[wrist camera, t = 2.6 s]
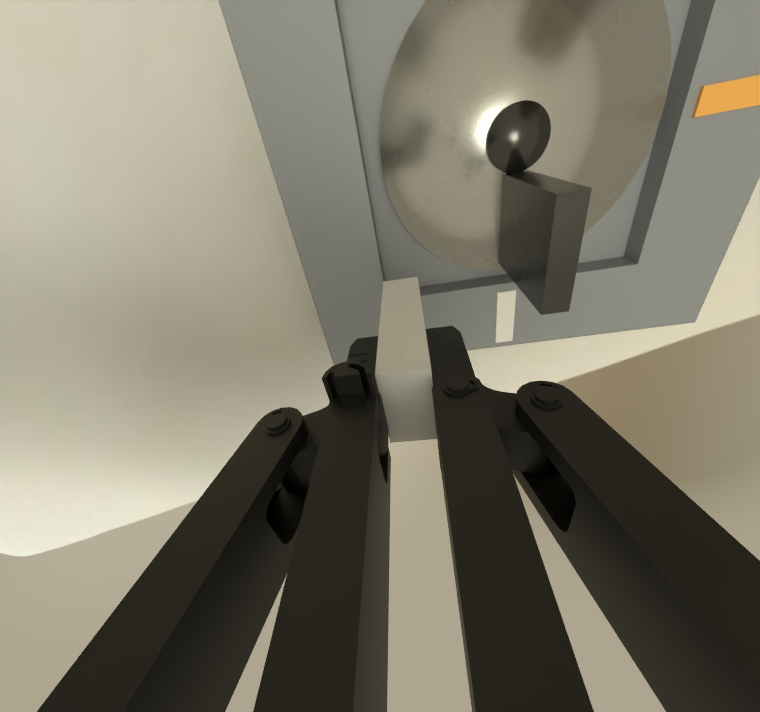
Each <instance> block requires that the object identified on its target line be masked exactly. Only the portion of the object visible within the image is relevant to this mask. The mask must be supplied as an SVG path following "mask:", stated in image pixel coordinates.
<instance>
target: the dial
mask: <svg viewBox="0 0 760 712" xmlns="http://www.w3.org/2000/svg"><path fill="white" fill-rule="evenodd" d="M670 67H671V36H670V29H669V23H668V17H667V11H666V8H665V5H664V2H663V0H426V2H425V3H424V4H423V5H422V7H421V9H420V10H419V12H418V14H417V15H416V17H415V18H414V20H413V22H412V23H411V25H410V27H409V28H408V30H407V32H406V35H405V37H404V39H403V41H402V43H401V45H400V47H399V49H398V52H397V54H396V57H395V60H394V63H393V65H392V68H391V71H390V74H389V77H388V81H387V86H386V90H385V94H384V98H383V104H382V112H381V120H380V155H381V165H382V170H383V175H384V180H385V184H386V187H387V190H388V193H389V196H390V199H391V202H392V204H393V206H394V208H395V210H396V212H397V214H398V216H399V218H400V219H401V221H402V222H403V224H404V226H405V227H406V229H407V230H408V231H409V232H410V233H411V235H412V236H413V237H414V238H415V239H416V240H417V241H418V242H419V243H420V244H421V245H422V246H423V247H425V248H426V249H427V250H428V251H430V252H431V253H433V254H434V255H436V256H437V257H439V258H441V259H443V260H445V261H447V262H449V263H451V264H455V265H458V266H461V267H464V268H470V269H476V270H492V271H493V270H505V272H506V273H507V274H508V275H509V277H510V278H511V279H512V280H513V281H514V283H515V284H516V285H517V286H518V288H519V289H520V290H521V291H522V292H523V294H524V295H525V296H526V297H527V298H528V300H529V301H530V302H531V303H532V305H533V306H534V307H535V308H536V309H537V311H538V312H539V313H540V314H541V315H545V314H553V313H560V312H568V311H569V309H570V304H571V298H572V293H573V288H574V282H575V277H576V271H577V266H578V261H579V255H580V250H581V244H582V239H583V234H584V233H585V232H587V231H588V230H589V229H590V228H591V227H592V226H593V225H595V224H596V223H597V222H598V221H599V220H600V219H601V218H602V217H603V216H604V215H605V214H606V213H607V212H608V211H609V209H610V208H611V207H612V206H613V205H614V204H615V202H616V201H617V200H618V199H619V197H620V196H621V195H622V194H623V192H624V191H625V190H626V188H627V187H628V185H629V184H630V182H631V181H632V179H633V178H634V176H635V175H636V173H637V171H638V169H639V168H640V166H641V164H642V162H643V160H644V158H645V156H646V155H647V153H648V150H649V148H650V146H651V143H652V141H653V139H654V136H655V134H656V132H657V128H658V125H659V122H660V119H661V116H662V113H663V110H664V105H665V101H666V96H667V91H668V86H669V77H670Z"/></svg>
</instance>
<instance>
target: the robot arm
mask: <svg viewBox="0 0 760 712" xmlns="http://www.w3.org/2000/svg"><path fill="white" fill-rule="evenodd" d="M322 380H323V383H324V386H325V389H326V392H327V394H328V397H329V400H330V402H329V405H328V406H327V407H325V408H323V409H321V410H319V411H316V412H313V413H310V414H307V415H304V416H302V414H301V413H300V412H299V411H298V410H297V409H295V408H291V407H286V408H280V409H277V410H274V411H272V412H270V413H268V414H267V415H265V416H264V417H263V418H262V419H261V420H260V421H259V422H258V423H257V424H256V425H255V427H254V428H253V429H252V431H251V432H250V433H249V435H248V436H247V437H246V439H245V440H244V441H243V443H242V444H241V445H240V446H239V448H238V449H237V450H236V452H235V453H234V454H233V456H232V457H231V458H230V460H229V461H228V462H227V463H226V465H225V466H224V467H223V469H222V470H221V471H220V473H219V474H218V475H217V477H216V478H215V479H214V480H213V482H212V483H211V484H210V486H209V487H208V488H207V490H206V491H205V492H204V494H203V495H202V496H201V498H200V499H199V500H198V501H197V503H196V504H195V505H194V507H193V508H192V509H191V511H190V512H189V513H188V515H187V516H186V517H185V518H184V520H183V521H182V522H181V524H180V525H179V526H178V528H177V529H176V530H175V532H174V533H173V534H172V535H171V537H170V538H169V539H168V541H167V542H166V543H165V545H164V546H163V547H162V549H161V550H160V551H159V553H158V554H157V555H156V556H155V558H154V559H153V560H152V562H151V563H150V564H149V566H148V567H147V568H146V570H145V571H144V572H143V573H142V575H141V576H140V578H139V579H138V580H137V581H136V583H135V584H134V585H133V587H132V588H131V589H130V590H129V592H128V593H127V595H126V596H125V597H124V598H123V600H122V601H121V602H120V604H119V605H118V606H117V607H116V609H115V610H114V612H113V613H112V614H111V615H110V617H109V618H108V619H107V621H106V622H105V623H104V625H103V626H102V627H101V629H100V630H99V631H98V632H97V634H96V635H95V636H94V638H93V639H92V641H91V642H90V643H89V644H88V645H87V647H86V648H85V649H84V651H83V652H82V653H81V655H80V656H79V657H78V659H77V660H76V662H75V663H74V664H73V665H72V666H71V668H70V669H69V670H68V672H67V673H66V674H65V676H64V677H63V678H62V680H61V681H60V682H59V684H58V685H57V686H56V687H55V689H54V690H53V691H52V693H51V694H50V695H49V697H48V698H47V699H46V701H45V702H44V703H43V704H42V706H41V707H40V708H39V710H38V711H37V712H225V711H226V708H227V706H228V704H229V701H230V699H231V697H232V695H233V692H234V691H235V688H236V686H237V684H238V682H239V679H240V677H241V675H242V673H243V670H244V668H245V666H246V664H247V662H248V659H249V657H250V655H251V653H252V650H253V648H254V646H255V644H256V641H257V639H258V637H259V635H260V633H261V630H262V628H263V626H264V624H265V622H266V619H267V617H268V615H269V613H270V610H271V608H272V606H273V604H274V601H275V599H276V597H277V595H278V592H279V590H280V588H281V585H282V584H283V581H284V579H285V577H286V575H287V577H286V581H285V586H284V589H283V593H282V597H281V601H280V606H279V609H278V614H277V618H276V622H275V626H274V630H273V634H272V638H271V642H270V646H269V650H268V654H267V658H266V662H265V666H264V671H263V675H262V679H261V683H260V687H259V691H258V695H257V699H256V703H255V707H254V711H253V712H387V668H388V603H389V602H388V601H389V599H388V598H389V534H390V532H389V531H390V471H391V470H390V468H391V457H390V452H389V448H388V434H389V439H390V442H403V441H415V440H426V439H427V440H428V439H437V440H438V449H439V459H440V468H441V473H442V480H443V488H444V496H445V504H446V511H447V520H448V527H449V535H450V543H451V551H452V558H453V566H454V574H455V581H456V589H457V597H458V605H459V613H460V620H461V628H462V635H463V643H464V651H465V659H466V667H467V674H468V682H469V690H470V697H471V705H472V712H594V711H593V708H592V705H591V702H590V700H589V696H588V693H587V690H586V688H585V685H584V682H583V679H582V676H581V673H580V670H579V667H578V664H577V661H576V658H575V655H574V652H573V649H572V646H571V643H570V640H569V637H568V635H567V632H566V629H565V626H564V623H563V620H562V617H561V614H560V611H559V608H558V605H557V602H556V599H555V596H554V593H553V590H552V587H551V585H550V582H549V579H548V576H547V573H546V570H545V567H544V564H543V561H542V558H541V555H540V552H539V549H538V546H537V543H536V540H535V537H534V534H533V531H532V528H531V525H530V523H529V519H528V517H527V514H526V511H525V508H524V505H523V502H522V499H521V496H520V493H519V490H518V487H517V484H516V481H515V478H514V475H515V477H516V479H517V480H518V481H519V483H520V485H521V486H522V488H523V489H524V491H525V493H526V494H527V495H528V497H529V499H530V500H531V502H532V503H533V505H534V507H535V508H536V510H537V511H538V513H539V514H540V516H541V517H542V519H543V521H544V522H545V524H546V525H547V527H548V528H549V530H550V531H551V533H552V535H553V536H554V538H555V539H556V541H557V542H558V544H559V545H560V547H561V549H562V550H563V552H564V553H565V555H566V556H567V558H568V559H569V561H570V562H571V564H572V566H573V567H574V569H575V570H576V572H577V573H578V575H579V577H580V578H581V580H582V581H583V583H584V584H585V586H586V587H587V589H588V591H589V592H590V594H591V595H592V597H593V598H594V600H595V601H596V603H597V604H598V606H599V608H600V609H601V611H602V612H603V614H604V615H605V617H606V619H607V620H608V622H609V623H610V625H611V626H612V628H613V629H614V631H615V633H616V634H617V636H618V637H619V639H620V640H621V642H622V643H623V645H624V646H625V648H626V650H627V651H628V653H629V654H630V656H631V657H632V659H633V661H634V662H635V663H636V665H637V667H638V668H639V670H640V671H641V673H642V675H643V676H644V678H645V679H646V681H647V682H648V684H649V685H650V687H651V688H652V690H653V692H654V693H655V695H656V696H657V698H658V699H659V701H660V702H661V704H662V706H663V707H664V709H665V710H666V712H760V561H759V560H758V559H757V558H756V557H755V556H753V554H751V553H750V552H749V551H748V550H747V549H746V548H745V547H744V546H743V545H741V544H740V543H739V542H738V541H737V540H736V539H735V538H734V537H733V536H731V535H730V534H729V533H728V532H727V531H726V530H725V529H724V528H723V527H721V526H720V525H719V524H718V523H717V522H716V521H715V520H714V519H713V518H711V517H710V516H709V515H708V514H707V513H706V512H705V511H703V509H702V508H700V507H699V506H698V505H697V504H696V503H695V502H694V501H692V500H691V499H690V498H689V497H688V496H687V495H686V494H685V493H684V492H683V491H682V490H680V489H679V488H678V487H677V486H676V485H675V484H674V483H673V482H672V481H670V480H669V479H668V478H667V477H666V476H665V475H664V474H663V473H662V472H660V471H659V470H658V469H657V468H656V467H655V466H654V465H653V464H652V463H650V462H649V461H648V460H647V459H646V458H645V457H643V455H641V453H639V452H638V451H637V450H636V449H635V448H634V447H633V446H632V445H630V444H629V443H628V442H627V441H626V440H625V439H624V438H623V437H621V436H620V435H619V434H618V433H617V432H616V431H615V430H614V429H613V428H612V427H610V426H609V425H608V424H607V423H606V422H605V421H604V420H603V419H601V417H599V416H598V415H597V414H596V413H595V412H594V411H593V410H591V408H589V407H588V406H587V405H586V404H585V403H584V402H582V400H581V399H579V398H578V397H577V396H576V395H575V394H574V393H573V392H572V391H570V390H569V389H567V388H566V387H564V386H562V385H559V384H556V383H553V382H548V381H534V382H529V383H527V384H525V385H522V386H521V387H520V388H519V390H518V391H517V394H515V393H507V392H500V391H495V390H492V389H489V388H487V387H485V386H484V385H482V383H481V382H480V380H479V379H477V378H476V377H475V375H474V372H473V368H472V365H471V362H470V359H469V356H468V353H467V350H466V347H465V344H464V341H463V338H462V334H461V332H460V331H459V330H457V329H456V328H455V327H454V326H445V327H437V328H429V329H425V323H424V316H423V309H422V303H421V296H420V289H419V282H418V277H411V278H404V279H398V280H391V281H384V282H383V291H382V302H381V313H380V324H379V335H378V336H373V337H365V338H358V339H356V340H355V341H354V343H353V344H352V345H351V346H350V349H349V353H348V358H347V361H346V362H342V363H339V364H337V365H335V366H333V367H331V368H330V369H329V370H327V371H326V372H325V374H324V375H323V377H322ZM513 474H514V475H513Z"/></svg>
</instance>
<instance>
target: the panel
mask: <svg viewBox="0 0 760 712" xmlns="http://www.w3.org/2000/svg"><path fill="white" fill-rule="evenodd" d="M425 2H426V0H219V4H220V7H221V10H222V13H223V16H224V19H225V23H226V26H227V29H228V32H229V35H230V38H231V41H232V45H233V48H234V51H235V54H236V57H237V60H238V64H239V67H240V70H241V73H242V76H243V79H244V83H245V86H246V89H247V92H248V95H249V98H250V101H251V105H252V108H253V111H254V114H255V117H256V120H257V124H258V127H259V130H260V133H261V136H262V139H263V142H264V146H265V149H266V152H267V155H268V158H269V161H270V165H271V168H272V171H273V174H274V177H275V180H276V184H277V187H278V190H279V193H280V196H281V199H282V202H283V206H284V209H285V212H286V215H287V218H288V221H289V225H290V228H291V231H292V234H293V237H294V240H295V243H296V247H297V250H298V253H299V256H300V259H301V262H302V266H303V269H304V272H305V275H306V278H307V281H308V285H309V288H310V291H311V294H312V297H313V300H314V303H315V307H316V310H317V313H318V316H319V319H320V322H321V326H322V329H323V332H324V335H325V338H326V341H327V345H328V348H329V351H330V354H331V357H332V360H333V363H334V366H335V365H337V364H339V363H342V362H346V361H347V358H348V353H349V349H350V346H351V345H352V344H353V343H354V341H355V340H356V339H358V338H365V337H373V336H378V335H379V324H380V313H381V302H382V291H383V282H384V281H391V280H398V279H404V278H411V277H418V282H419V289H420V296H421V303H422V309H423V316H424V323H425V329H429V328H437V327H445V326H454V327H455V328H456V329H457V330H459V331H460V332H461V334H462V338H463V341H464V344H465V347H466V350H474V349H483V348H491V347H499V346H507V345H515V344H523V343H531V342H539V341H547V340H556V339H564V338H572V337H580V336H588V335H596V334H604V333H612V332H620V331H629V330H637V329H645V328H653V327H661V326H669V325H677V324H685V323H693V322H695V321H696V319H697V317H698V314H699V312H700V310H701V308H702V305H703V303H704V301H705V299H706V296H707V294H708V292H709V290H710V287H711V285H712V283H713V281H714V278H715V276H716V274H717V272H718V269H719V267H720V265H721V263H722V260H723V258H724V256H725V254H726V251H727V249H728V247H729V245H730V242H731V240H732V238H733V236H734V233H735V231H736V229H737V227H738V224H739V222H740V220H741V218H742V215H743V213H744V211H745V209H746V206H747V204H748V202H749V200H750V197H751V195H752V193H753V191H754V188H755V186H756V184H757V182H758V179H759V177H760V0H663V2H664V5H665V8H666V11H667V17H668V23H669V29H670V36H671V67H670V77H669V86H668V91H667V96H666V101H665V105H664V110H663V113H662V116H661V119H660V122H659V125H658V128H657V132H656V134H655V136H654V139H653V141H652V143H651V146H650V148H649V150H648V153H647V155H646V156H645V158H644V160H643V162H642V164H641V166H640V168H639V169H638V171H637V173H636V175H635V176H634V178H633V179H632V181H631V182H630V184H629V185H628V187H627V188H626V190H625V191H624V192H623V194H622V195H621V196H620V197H619V199H618V200H617V201H616V202H615V204H614V205H613V206H612V207H611V208H610V209H609V211H608V212H607V213H606V214H605V215H604V216H603V217H602V218H601V219H600V220H599V221H598V222H597V223H596V224H595V225H593V226H592V227H591V228H590V229H589V230H588V231H587V232H585V233H584V234H583V239H582V244H581V250H580V255H579V261H578V266H577V271H576V277H575V282H574V288H573V293H572V298H571V304H570V309H569V311H568V312H560V313H553V314H545V315H541V314H540V313H539V312H538V311H537V309H536V308H535V307H534V306H533V305H532V303H531V302H530V301H529V300H528V298H527V297H526V296H525V295H524V294H523V292H522V291H521V290H520V289H519V288H518V286H517V285H516V284H515V283H514V281H513V280H512V279H511V278H510V277H509V275H508V274H507V273H506V272H505V270H493V271H492V270H476V269H470V268H464V267H461V266H458V265H455V264H451V263H449V262H447V261H445V260H443V259H441V258H439V257H437V256H436V255H434V254H433V253H431V252H430V251H428V250H427V249H426V248H425V247H423V246H422V245H421V244H420V243H419V242H418V241H417V240H416V239H415V238H414V237H413V236H412V235H411V233H410V232H409V231H408V230H407V229H406V227H405V226H404V224H403V222H402V221H401V219H400V218H399V216H398V214H397V212H396V210H395V208H394V206H393V204H392V202H391V199H390V196H389V193H388V190H387V187H386V184H385V180H384V175H383V170H382V165H381V155H380V120H381V112H382V104H383V98H384V94H385V90H386V86H387V81H388V77H389V74H390V71H391V68H392V65H393V63H394V60H395V57H396V54H397V52H398V49H399V47H400V45H401V43H402V41H403V39H404V37H405V35H406V32H407V30H408V28H409V27H410V25H411V23H412V22H413V20H414V18H415V17H416V15H417V14H418V12H419V10H420V9H421V7H422V5H423V4H424V3H425Z"/></svg>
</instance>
